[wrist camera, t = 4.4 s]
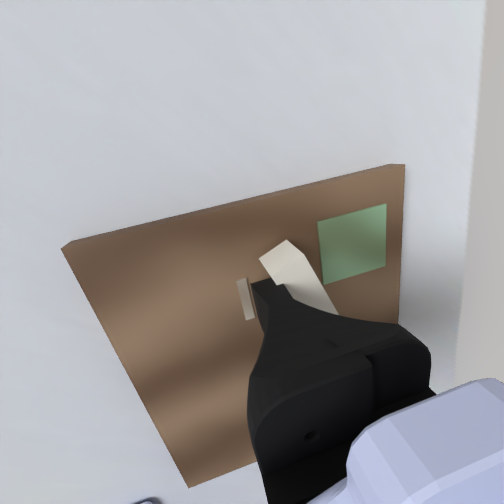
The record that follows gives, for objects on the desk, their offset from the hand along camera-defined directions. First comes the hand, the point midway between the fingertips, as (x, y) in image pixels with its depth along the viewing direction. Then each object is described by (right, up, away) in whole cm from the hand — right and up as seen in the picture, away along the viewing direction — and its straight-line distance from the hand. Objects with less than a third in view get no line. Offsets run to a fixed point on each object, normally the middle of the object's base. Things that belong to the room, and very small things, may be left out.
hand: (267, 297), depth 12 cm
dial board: (+1, -3, +4) cm, 5 cm away
